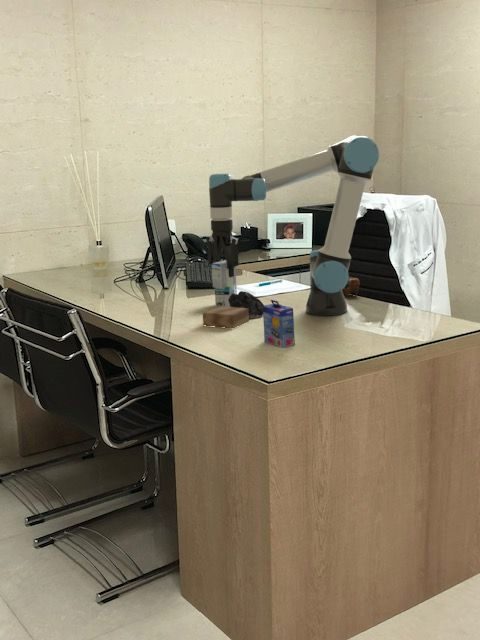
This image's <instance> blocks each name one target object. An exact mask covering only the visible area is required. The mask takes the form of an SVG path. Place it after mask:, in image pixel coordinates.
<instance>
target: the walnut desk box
mask: <svg viewBox="0 0 480 640" xmlns="http://www.w3.org/2000/svg"><path fill="white" fill-rule="evenodd" d="M248 322H250V318H249V310H248V309H247V308H237V307H225V306H219V307H216V306H215V307H214V308H212V309H210V310H208V311H205V312H203V313H202V325H206V326H215V327H225V328H235V327H237V326H239V327H241V326H242V324H243V325H244V323H245V324H246V323H248ZM240 325H241V326H240ZM225 328H224V329H225ZM237 328H238V327H237ZM235 329H236V328H235Z"/></svg>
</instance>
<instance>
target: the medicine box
mask: <svg viewBox="0 0 480 640" xmlns="http://www.w3.org/2000/svg"><path fill="white" fill-rule="evenodd" d="M226 267H227V262H226V259H224V260H220V261H219V262H215V263H212V265H211V274H212V275H211V277H212V288H214V289H215V288H225V287H226ZM236 274H237V272H236V267H234V277H233V285H235V284H237V275H236Z"/></svg>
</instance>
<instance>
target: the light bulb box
mask: <svg viewBox="0 0 480 640" xmlns="http://www.w3.org/2000/svg"><path fill="white" fill-rule="evenodd" d="M237 287H238V286H237V283H236V284H235V285H233V286H230V287H225V288H214V297H215V298H214V300H215V308H216V307H219V306H225V307H230V304H229V301H228V299H229V297H230V296H231V294H233V293H234V294H237V295H238V293H237V291H238V290H237Z"/></svg>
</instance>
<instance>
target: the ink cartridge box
mask: <svg viewBox="0 0 480 640" xmlns="http://www.w3.org/2000/svg"><path fill="white" fill-rule="evenodd" d="M270 302H271V304H270V303H269V304H264V306H263V315H262V317H263V334H264V335H263V338H264V339H263V340H264V342H265V343H267V344H270V345H273V346H276V347H279V348H280V349H283V348H287V347H290V346H295V345H296V342H295V341H296V339H295V338H296V337H295V322H294V321H295V320H294V308H293V307H291V306H287V305H282V304H280V302H279V301H277V300H274V299H270Z"/></svg>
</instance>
